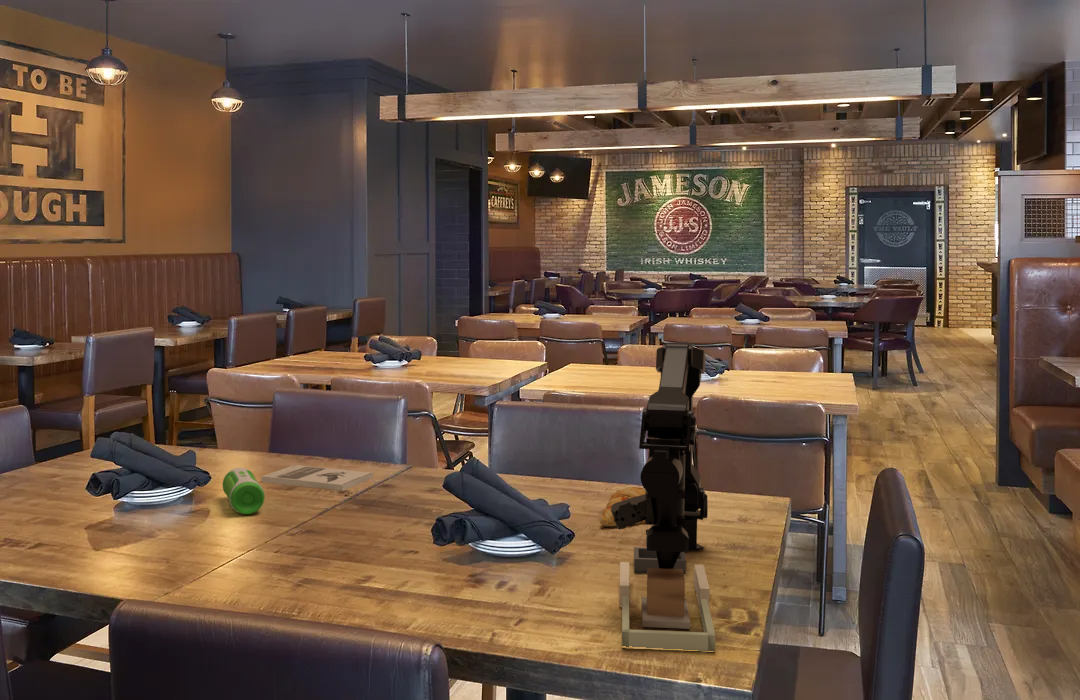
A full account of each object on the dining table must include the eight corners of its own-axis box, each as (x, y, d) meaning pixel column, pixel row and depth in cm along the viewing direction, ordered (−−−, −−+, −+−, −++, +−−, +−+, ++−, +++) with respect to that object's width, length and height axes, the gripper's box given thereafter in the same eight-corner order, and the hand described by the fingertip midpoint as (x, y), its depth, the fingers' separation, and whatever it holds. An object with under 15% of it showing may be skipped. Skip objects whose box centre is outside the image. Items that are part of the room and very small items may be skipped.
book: (261, 484, 237) (261, 476, 236) (295, 472, 250) (294, 464, 249) (342, 493, 228) (342, 484, 228) (373, 480, 241) (373, 472, 241)
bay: (622, 611, 152) (622, 596, 151) (706, 615, 151) (706, 599, 150) (621, 649, 137) (622, 631, 137) (715, 652, 136) (715, 635, 136)
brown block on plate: (641, 603, 155) (642, 563, 154) (685, 604, 154) (686, 564, 153) (642, 626, 145) (643, 584, 144) (690, 628, 144) (691, 586, 144)
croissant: (614, 548, 196) (630, 517, 193) (577, 518, 201) (592, 488, 198) (665, 523, 213) (680, 494, 210) (630, 496, 218) (645, 468, 215)
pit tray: (633, 560, 177) (634, 547, 177) (683, 562, 177) (683, 548, 176) (634, 572, 170) (634, 559, 170) (685, 574, 170) (686, 560, 169)
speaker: (266, 515, 207) (265, 480, 206) (230, 518, 204) (230, 483, 203) (255, 496, 223) (254, 464, 222) (221, 499, 220) (221, 467, 219)
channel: (619, 581, 166) (620, 561, 165) (703, 584, 164) (703, 564, 164) (619, 607, 154) (619, 585, 153) (708, 610, 152) (709, 588, 152)
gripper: (615, 467, 162) (613, 559, 163) (613, 494, 143) (612, 597, 145) (682, 469, 161) (680, 561, 162) (690, 497, 142) (687, 600, 144)
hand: (664, 579), depth 153 cm, fingers closed
